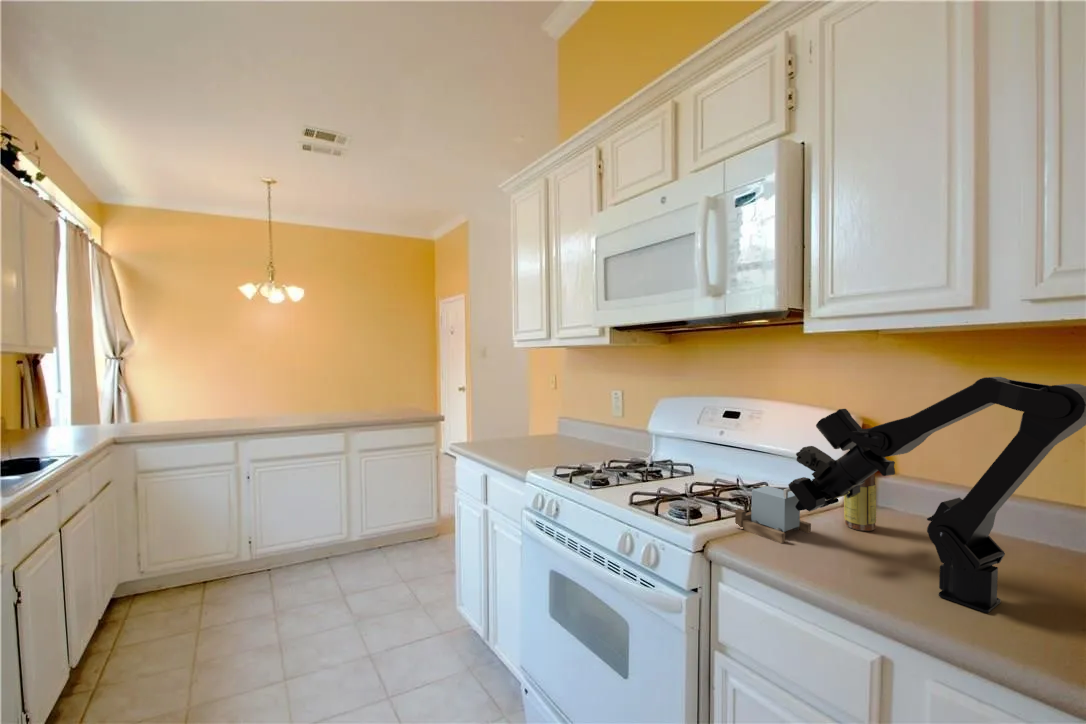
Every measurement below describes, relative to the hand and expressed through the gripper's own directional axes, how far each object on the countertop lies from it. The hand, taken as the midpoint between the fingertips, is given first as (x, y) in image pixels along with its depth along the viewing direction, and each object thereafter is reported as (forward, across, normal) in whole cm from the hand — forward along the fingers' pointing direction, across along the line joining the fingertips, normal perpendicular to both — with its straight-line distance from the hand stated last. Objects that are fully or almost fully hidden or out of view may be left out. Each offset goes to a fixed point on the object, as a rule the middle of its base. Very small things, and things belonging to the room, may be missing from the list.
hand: (797, 508), depth 109 cm
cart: (+8, 0, +1) cm, 8 cm away
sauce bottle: (+2, -18, +8) cm, 20 cm away
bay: (+9, 0, 0) cm, 9 cm away
